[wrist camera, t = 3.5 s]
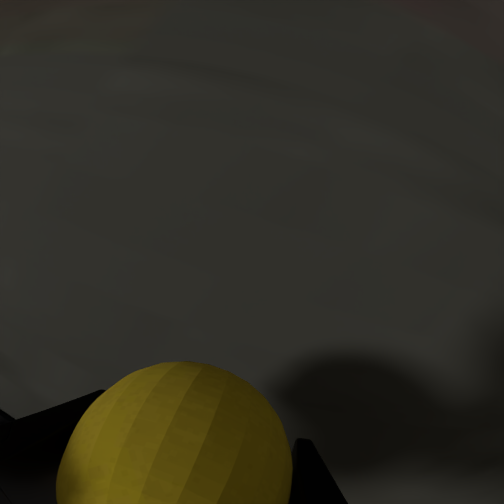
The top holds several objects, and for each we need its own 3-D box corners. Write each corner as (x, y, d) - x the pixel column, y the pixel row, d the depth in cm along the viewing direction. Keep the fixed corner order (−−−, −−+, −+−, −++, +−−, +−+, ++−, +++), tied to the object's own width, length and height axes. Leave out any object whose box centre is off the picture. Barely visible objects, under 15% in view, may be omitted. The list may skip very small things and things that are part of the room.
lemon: (332, 390, 10) (340, 629, 2) (227, 459, 11) (172, 626, 3) (203, 279, 10) (5, 495, 2) (118, 376, 11) (-10, 522, 3)
